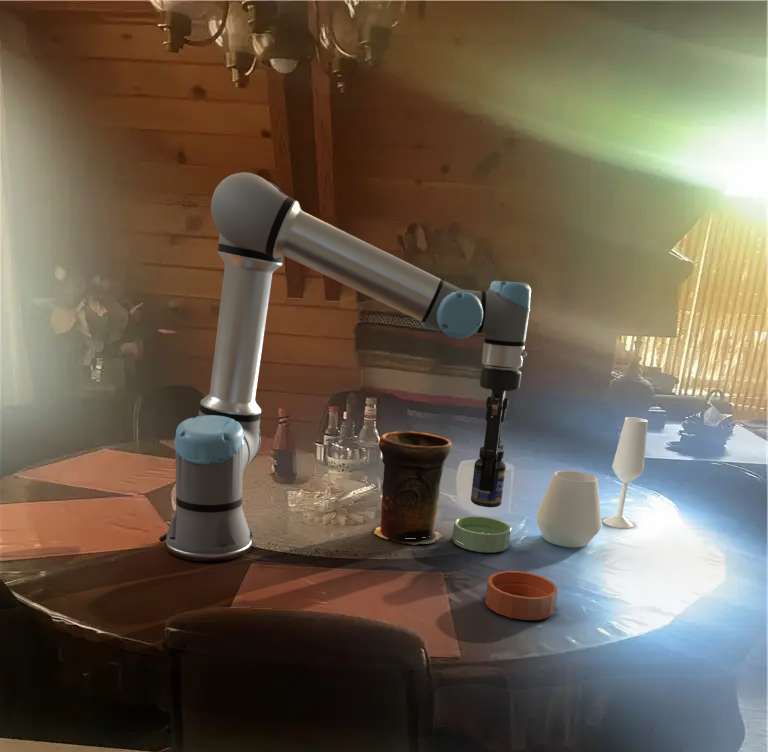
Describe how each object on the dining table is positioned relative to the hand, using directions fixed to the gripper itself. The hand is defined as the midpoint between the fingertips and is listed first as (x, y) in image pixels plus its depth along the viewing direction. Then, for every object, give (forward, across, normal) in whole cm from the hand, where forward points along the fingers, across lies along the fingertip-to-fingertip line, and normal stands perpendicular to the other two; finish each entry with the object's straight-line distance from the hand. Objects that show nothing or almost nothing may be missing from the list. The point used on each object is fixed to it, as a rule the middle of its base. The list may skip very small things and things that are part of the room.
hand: (487, 485), depth 149 cm
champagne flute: (+12, +27, -29) cm, 41 cm away
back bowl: (+12, 0, 0) cm, 12 cm away
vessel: (+12, 0, +15) cm, 19 cm away
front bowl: (+12, -28, -9) cm, 32 cm away
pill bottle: (+4, 0, 0) cm, 4 cm away
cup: (+12, +10, -17) cm, 23 cm away
